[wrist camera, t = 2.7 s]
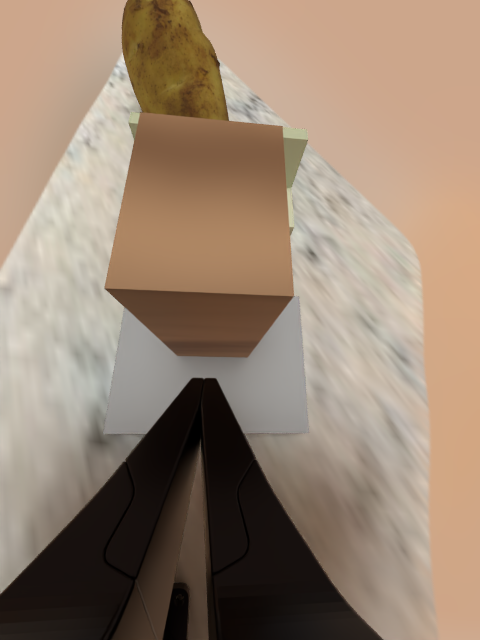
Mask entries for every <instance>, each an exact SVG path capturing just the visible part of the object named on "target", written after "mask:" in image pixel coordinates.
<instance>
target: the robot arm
mask: <svg viewBox="0 0 480 640" xmlns="http://www.w3.org/2000/svg"><path fill="white" fill-rule="evenodd" d="M200 444H201V463H202V487H203V511H204V535H205V559H206V583H207V607H208V631H209V640H383V639H382V638H381V637H380V636H379V635H378V634H377V633H376V632H375V631H374V630H373V629H372V628H371V627H370V626H369V625H368V624H367V623H366V622H365V621H364V620H363V619H362V618H361V617H360V616H359V615H358V614H357V613H356V612H355V610H354V609H353V608H352V607H351V606H350V605H349V604H348V602H347V601H346V600H345V599H344V597H343V596H342V595H341V594H340V592H339V591H338V590H337V588H336V587H335V586H334V584H333V583H332V581H331V580H330V579H329V577H328V576H327V574H326V573H325V571H324V570H323V568H322V567H321V565H320V564H319V562H318V560H317V559H316V557H315V556H314V554H313V553H312V551H311V550H310V548H309V547H308V545H307V543H306V542H305V540H304V539H303V537H302V536H301V534H300V533H299V531H298V530H297V528H296V526H295V525H294V523H293V522H292V520H291V519H290V517H289V516H288V514H287V513H286V511H285V509H284V508H283V506H282V504H281V503H280V501H279V499H278V498H277V496H276V495H275V493H274V491H273V489H272V488H271V486H270V484H269V482H268V480H267V478H266V476H265V475H264V473H263V471H262V469H261V467H260V465H259V463H258V461H257V460H256V457H255V455H254V453H253V451H252V449H251V447H250V445H249V443H248V441H247V439H246V437H245V435H244V433H243V431H242V429H241V427H240V425H239V423H238V421H237V419H236V417H235V415H234V413H233V411H232V409H231V407H230V405H229V403H228V401H227V399H226V397H225V395H224V393H223V391H222V389H221V387H220V385H219V382H218V380H217V379H216V378H205V379H204V378H191V379H190V381H189V382H188V383H187V384H186V386H185V387H184V388H183V389H182V391H181V392H180V393H179V394H178V395H177V397H176V398H175V399H174V400H173V402H172V403H171V404H170V405H169V406H168V408H167V409H166V410H165V411H164V413H163V414H162V415H161V416H160V418H159V419H158V420H157V421H156V422H155V424H154V425H153V426H152V427H151V429H150V430H149V431H148V432H147V433H146V435H145V436H144V437H143V438H142V440H141V441H140V442H139V443H138V444H137V446H136V447H135V448H134V449H133V451H132V452H131V453H130V454H129V456H128V457H127V458H126V462H125V461H124V462H123V463H122V464H121V465H120V466H119V468H118V469H117V470H116V471H115V473H114V474H113V475H112V476H111V477H110V479H109V480H108V481H107V482H106V483H105V484H104V486H103V487H102V488H101V489H100V490H99V491H98V493H97V494H96V495H95V496H94V497H93V498H92V499H91V500H90V501H89V502H88V504H87V505H86V506H85V507H84V508H83V509H82V510H81V511H80V512H79V513H78V514H77V515H76V516H75V517H74V519H73V520H72V521H71V522H70V523H69V524H68V525H67V526H66V527H65V528H64V529H63V530H62V531H61V532H60V533H59V534H58V535H57V536H56V537H55V538H54V539H53V540H52V541H51V542H50V543H49V544H48V546H47V547H46V548H45V549H44V550H43V551H42V552H41V553H40V554H39V555H38V556H37V557H36V558H35V559H34V560H33V561H32V562H31V563H30V564H29V565H28V566H27V567H26V568H25V569H24V570H23V571H22V572H21V574H20V575H19V576H18V577H17V578H16V579H15V580H14V581H13V582H12V583H11V584H10V585H9V586H8V587H7V588H6V589H5V590H4V591H3V592H2V593H1V594H0V640H187V635H188V617H189V600H190V591H189V588H188V586H187V585H186V584H185V583H174V578H175V573H176V568H177V563H178V558H179V553H180V548H181V542H182V537H183V532H184V527H185V522H186V517H187V512H188V507H189V502H190V496H191V491H192V486H193V481H194V476H195V471H196V466H197V461H198V456H199V450H200ZM179 594H181V595H183V596H184V599H183V600H181V601H180V600H177V598H176V596H177V595H179Z"/></svg>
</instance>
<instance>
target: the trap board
mask: <svg viewBox="0 0 480 640" xmlns="http://www.w3.org/2000/svg"><path fill="white" fill-rule="evenodd" d="M139 116H140V113H134V112H131V114H130V118H129V126H130V129H131V132H132V135H133V138H134V140H135V135H136V130H137V125H138V121H139ZM283 139H284V154H285V169H286V185H287V200H288V215H289V230H290V235H291V233H292V231H293V229H294V220H293V206H292V193H291V187H292V184H293V182H294V179H295V176H296V173H297V170H298V167H299V164H300V161H301V158H302V156H303V153H304V150H305V147H306V144H307V141H308V135H307V130H306V129H296V128H286V127H283ZM191 378H204V379H205V378H216V379H217V380H218V382H219V385H220V387H221V389H222V391H223V393H224V395H225V397H226V399H227V401H228V403H229V405H230V407H231V409H232V411H233V413H234V415H235V417H236V419H237V421H238V423H239V425H240V427H241V429H242V431H243V433H244V434H251V433H309V423H308V409H307V396H306V382H305V369H304V355H303V342H302V328H301V314H300V301H299V296H294V297H293V298H292V300H291V301H290V302H289V304H288V305H287V306H286V307H285V309H284V310H283V311H282V313H281V314H280V315H279V317H278V318H277V319H276V321H275V322H274V323H273V325H272V326H271V327H270V329H269V330H268V331H267V333H266V334H265V335H264V337H263V338H262V339H261V341H260V342H259V343H258V345H257V346H256V347H255V348H254V350H253V351H252V352H251V354H250V355H249V356H248V358H245V357H199V356H177V355H176V354H175V353H174V352H173V351H171V350H170V349H169V348H168V347H167V346H166V345H165V344H164V343H163V342H162V341H161V340H160V339H159V338H157V337H156V336H155V335H154V334H153V333H152V332H151V331H150V330H149V329H148V328H147V327H146V326H145V325H143V324H142V323H141V322H140V321H139V320H138V319H137V318H136V317H135V316H134V315H133V314H132V313H131V312H129V311H128V310H127V309H126V308H125V307H124V313H123V319H122V324H121V330H120V336H119V342H118V348H117V354H116V360H115V366H114V372H113V377H112V383H111V389H110V395H109V401H108V407H107V413H106V419H105V425H104V430H103V434H146V433H147V432H148V431H149V430H150V429H151V427H152V426H153V425H154V424H155V422H156V421H157V420H158V419H159V418H160V416H161V415H162V414H163V413H164V411H165V410H166V409H167V408H168V406H169V405H170V404H171V403H172V402H173V400H174V399H175V398H176V397H177V395H178V394H179V393H180V392H181V391H182V389H183V388H184V387H185V386H186V384H187V383H188V382H189V381H190V379H191Z"/></svg>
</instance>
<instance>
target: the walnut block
mask: <svg viewBox="0 0 480 640" xmlns="http://www.w3.org/2000/svg"><path fill="white" fill-rule="evenodd" d="M105 289H106V290H107V291H108V292H109V293H110V294H111V295H112V296H113V297H114V298H115V299H117V300H118V301H119V302H120V303H121V304H122V305H123V306H124V307H125V308H126V309H127V310H128V311H129V312H131V313H132V314H133V315H134V316H135V317H136V318H137V319H138V320H139V321H140V322H141V323H142V324H143V325H145V326H146V327H147V328H148V329H149V330H150V331H151V332H152V333H153V334H154V335H155V336H156V337H157V338H159V339H160V340H161V341H162V342H163V343H164V344H165V345H166V346H167V347H168V348H169V349H170V350H171V351H173V352H174V353H175V354H176V355H177V356H199V357H245V358H248V356H249V355H250V354H251V352H252V351H253V350H254V348H255V347H256V346H257V345H258V343H259V342H260V341H261V339H262V338H263V337H264V335H265V334H266V333H267V331H268V330H269V329H270V327H271V326H272V325H273V323H274V322H275V321H276V319H277V318H278V317H279V315H280V314H281V313H282V311H283V310H284V309H285V307H286V306H287V305H288V304H289V302H290V301H291V300H292V298H293V297H294V290H293V275H292V260H291V245H290V230H289V215H288V200H287V185H286V169H285V154H284V139H283V126H275V125H264V124H254V123H244V122H234V121H224V120H214V119H204V118H194V117H184V116H174V115H164V114H153V113H143V112H140V116H139V121H138V125H137V130H136V135H135V140H134V145H133V150H132V155H131V160H130V165H129V170H128V175H127V180H126V185H125V189H124V194H123V199H122V204H121V209H120V214H119V219H118V224H117V229H116V234H115V239H114V244H113V249H112V254H111V258H110V263H109V268H108V273H107V278H106V283H105Z"/></svg>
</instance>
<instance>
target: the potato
mask: <svg viewBox="0 0 480 640" xmlns="http://www.w3.org/2000/svg"><path fill="white" fill-rule="evenodd" d="M122 49H123V55H124V60H125V64H126V67H127V70H128V74H129V78H130V81H131V84H132V87H133V90H134V93H135V95H136V97H137V100H138V102H139V104H140V107H141V109H142V111H143V113H153V114H164V115H174V116H184V117H194V118H204V119H214V120H224V121H229V118H228V112H227V106H226V100H225V95H224V90H223V85H222V79H221V75H220V70H219V66H220V63H219V62H218V60H217V56H216V53H215V50H214V48H213V46H212V44H211V42H210V41H209V40H208V38H207V37H206V36H205V35H204V34H203V32H202V29H201V25H200V22H199V20H198V17H197V14H196V12H195V10H194V8H193V5H192V3H191V2H190V1H188V0H128V1H127V3H126V6H125V8H124V13H123V20H122Z"/></svg>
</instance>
